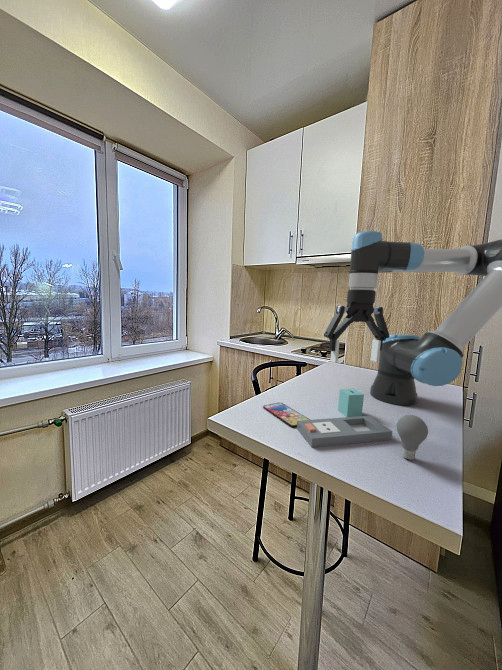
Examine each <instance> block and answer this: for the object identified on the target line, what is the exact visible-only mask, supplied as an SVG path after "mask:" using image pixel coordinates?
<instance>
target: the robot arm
mask: <svg viewBox="0 0 502 670" xmlns="http://www.w3.org/2000/svg"><path fill="white" fill-rule="evenodd" d="M351 242H352V244H351V248H350V263H349V266H350V267H349V276H348V285H347V286H348V288H349V289H348V290H347V293H346V294H347V296H346V302H347V304H346V306H345V305H337V306H336V307H335V308H336V309H335V313H334V315H333V316H332V318H331V320H330V322H329V324H328V326H327V327H326V329H325V330H324V333H323V337H324V338H327V339H329V345H328V350H329V351H330V361H329V362H331V363H334V364H338V361H339V351H340V340H338V339H339V338H340V337H341V335H342V334H344V332H345V331H346V330H347V328H348V327H349V326H351V324H353V323H354V322H356V323H364V324H366V325H367V327H368V329H369V331H370V332H371V334H372V335H373V337H374V338H375V339H374V338H372V343H371V352H370V361H372V362H375V363H378V364H377V365H378V367H377V374H376V376H375V378H374V380H373V383H372V384H371V386H370V388H369V389H370V391H369V393H370V396H372V397H373V398H374V399H376V400H379V401H381V402H385V403H388V404H392V405H398V406H413V405H416V404H417V403H418V392H417V388H416V383H415V382H416V381H417V382H419V383H422V384H425V385H428V386H432V387H441V386H446V385H448V384H449V385H450V384H451V383H452V382H453V381H455V380H456V379H457V378H458V377H459V376H460V374H461V372H462V370H463V369H462V368H461V367H463V364H464V363H463V359H462V358H464V357H465V352H464V347H466V345H467V344H469V343H470V342H471V340H472V339H473V338H474V337H476V335H477V334H478V333H479V331H481V330H482V329H483V327H484V326H485V325H486V324H488V322H489V321H490V320H491V319H492V318H493V317H494V316H495V315H496V314H497V313H498V312H499V311H500V309H501V308H502V239H498V240H493V241H489V242H484V243H479V244H472V245H471V244H470V245H463V246H461V247H460V248H424V247H423V245H422V244H421V243H416V242H411V241H408V242H407V241H406V242H405V241H387V240H383V234H382V232H380V231H376V230H367V231H365V230H364V231H360V232H357V233H355V234H354V235H353V238H352V241H351ZM445 272H446V273H453V272H455V273H456V274H457V275H462V276H463V275H465V276H466V275H467V276H468V275H469V276H481V277H483V279H481V280H480V282H478V284H477V285H475V287H474V288H473V289H472V290H471V291H470V292H469V293H468V294H467V295H466V297H465V298H464V299H463V300H462V301H461V302H460V303H459V304H458V305H457V306H456V307H455V309H454V310H452V311H451V312H450V314H449V315H448V316H447V317H446V318H445V319H444V320H443V321H442V322H441V323H440V325H439V326H438V327H437V328H436V329H434V330H432V331H431V330H430V331H429V330H428V331H426V332H425V333H424V334H423V335H422V336H421V337H420V335H418V334H417V335H416V334H415V335H414V334H395V333H394V334H393V333H391V334H390V332H389V330H388V326H387V323H386V320H385V316H384V308H383V307H382V306H374V304H375V302H376V296H377V295H376V294H377V292H376V290H375V289H377V288H378V287H377V286H378V277H379V273H381V274H382V273H383V274H384V273H385V274H386V273H445ZM345 313H346V315H345V316H344V314H345ZM372 315H373V316H374V318H373V316H372ZM343 316H344V317H343ZM342 318H343V319H342ZM341 320H342V321H341Z"/></svg>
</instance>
